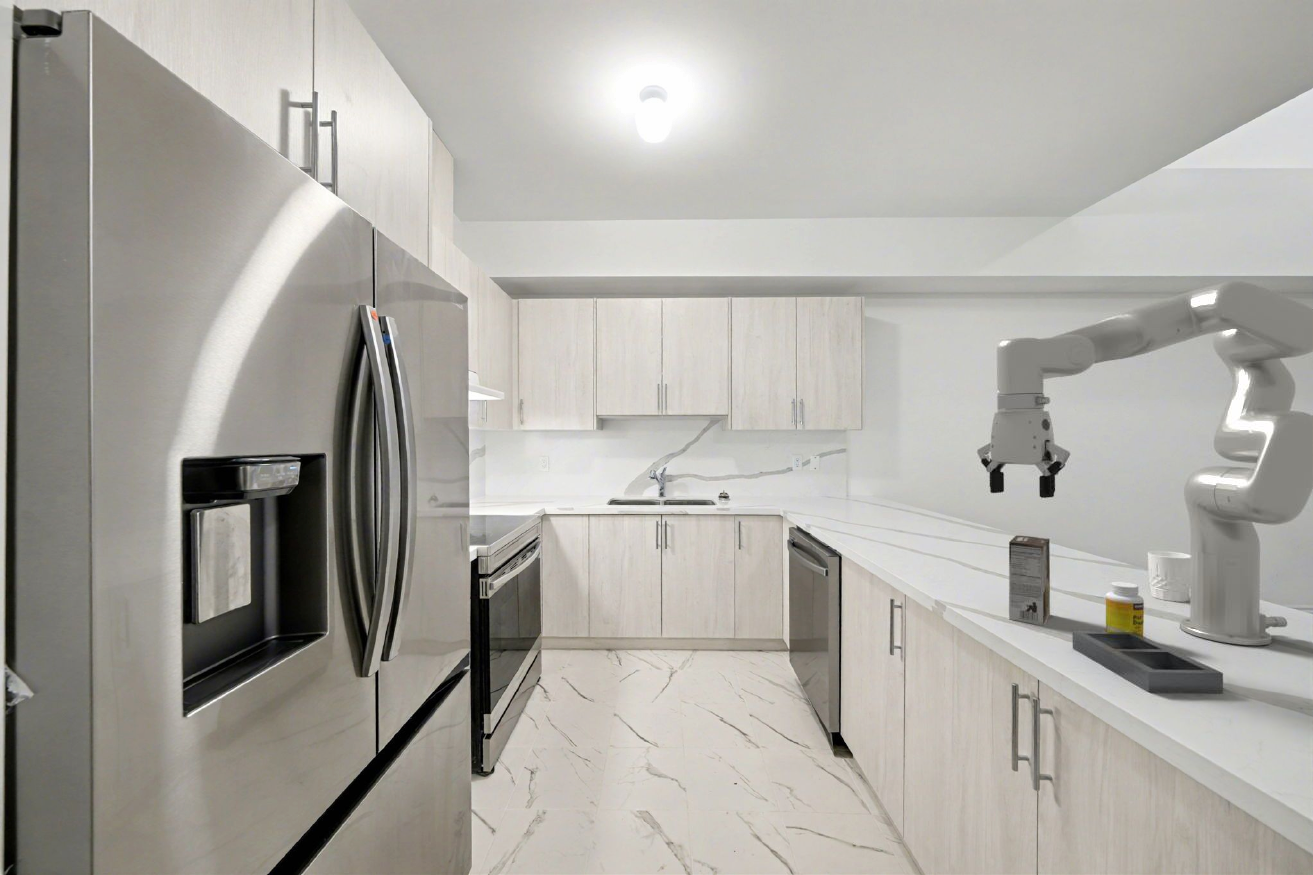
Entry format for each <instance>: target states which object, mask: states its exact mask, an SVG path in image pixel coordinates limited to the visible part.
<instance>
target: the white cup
mask: <svg viewBox="0 0 1313 875" xmlns="http://www.w3.org/2000/svg"><path fill="white" fill-rule="evenodd" d="M1147 570H1148V580H1149V585H1150V586H1149V588H1150V591H1149V592H1150V596H1151V597H1153V598H1155V599H1157V600H1162V601H1166V602H1167V601H1168V602H1175V601H1176V602H1178V603H1181V602H1183V603H1185V602H1189V601H1190V574H1191V554H1187V553H1184V552H1176V551H1167V550H1165V551H1164V550H1150V551H1147Z"/></svg>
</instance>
